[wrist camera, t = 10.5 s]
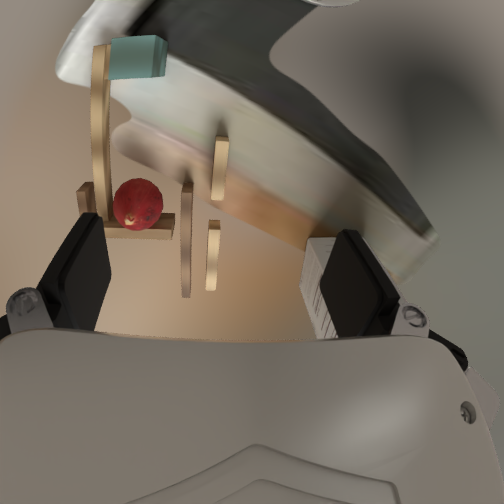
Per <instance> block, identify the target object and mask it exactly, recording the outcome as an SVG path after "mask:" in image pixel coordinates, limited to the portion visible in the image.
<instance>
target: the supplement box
mask: <svg viewBox="0 0 504 504" xmlns="http://www.w3.org/2000/svg"><path fill="white" fill-rule="evenodd" d="M362 238H363V240H364V241H365V243H366V244H367V245H368V247H369V248H370V250H371V251H372V253H373V254H374V256H375V257H376V259H377V260H378V262H379V264H380V265H381V267H382V268H383V270H384V271H385V273H386V274H387V276H388V278H389V279H390V281H391V282H392V284H393V286H394V287H395V289H396V290H397V292H398V294H399V295H400V297H401V298H400V299H399V301H398V302H399V304H400V305H401V304H403V303H408V302H407V301H406V299H405V298H404V296H403V294H402V293H401V291H400V290H399V288H398V287H397V285H396V284H395V282H394V281H393V279H392V277H391V276H390V274H389V273H388V271H387V270H386V268H385V267H384V266H383V264H382V263H381V261H380V260H379V258H378V257H377V255H376V254H375V252H374V251H373V250H372V248H371V247H370V245H369V244H368V242H367V241H366V240H365V238H364V237H362ZM335 240H336V237H330V238H308V240H307V246H306V251H305V256H304V262H303V267H302V273H301V278H300V283H299V286H300V289H301V292H302V295H303V297H304V301H305V304H306V307H307V310H308V313H309V315H310V318H311V321H312V325H313V328H314V331H315V333H316V337H317V339H327V338H338V336H337V333H336V330H335V328H334V325H333V322H332V320H331V317H330V314H329V312H328V309H327V306H326V304H325V301H324V299H323V296H322V294H321V291H320V287H319V284H320V280H321V277H322V275H323V272H324V270H325V267H326V264H327V262H328V259H329V256H330V254H331V251H332V248H333V245H334V243H335Z"/></svg>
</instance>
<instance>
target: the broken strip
mask: <svg viewBox="0 0 504 504" xmlns="http://www.w3.org/2000/svg"><path fill="white" fill-rule="evenodd" d="M228 149H229V138H228V137H223V136H216V141H215V151H214V162H213V174H212V186H211V200H223V197H224V186H225V177H226V167H227V158H228ZM219 240H220V220H209V229H208V245H207V264H206V290H216V278H217V265H218V252H219Z"/></svg>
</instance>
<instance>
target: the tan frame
mask: <svg viewBox="0 0 504 504" xmlns="http://www.w3.org/2000/svg"><path fill="white" fill-rule="evenodd" d="M167 48H168V42H167V41H165V40H163V39H162V38H160V37H158V36H157V35H147V36H132V37H121V38H112V41H111V44H109V45H99V46H94V48H93V60H92V75H91V148H92V164H93V176H94V187H95V196H96V205H97V211H98V215H99V216H101V217H102V218H103V224H104V231H105V238H131V239H157V240H171V239H172V235H173V230H174V225H175V214H174V213H161V215H160V217H159V219H158V220H157V221H156V222H155V223H154V224H153V225H152V226H151V227H149V228H147V229H144V230H141V231H132V230H129V229H126V228H124V227H123V226H122V225H121V224H120V223H119V222H118V220H117V219H116V217H115V215H114V211H113V196H112V184H111V169H110V148H109V147H110V145H109V99H110V80H115V79H130V78H152V77H161V76H165V66H166V57H167Z"/></svg>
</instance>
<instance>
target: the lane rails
mask: <svg viewBox="0 0 504 504" xmlns="http://www.w3.org/2000/svg"><path fill="white" fill-rule="evenodd" d="M76 193H77V200H78V207H79V213H80V216H81V215H82V213H83V212H94V213H97V209H96V201H95V192H94V183H93V182H85V183H84V184H83V185H82V186H81V187H80V188H79V189H78V190H77V191H76ZM192 204H193V183H183V187H182V193H181V284H182V285H181V286H182V297H184V298H190V293H191V237H192Z"/></svg>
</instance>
